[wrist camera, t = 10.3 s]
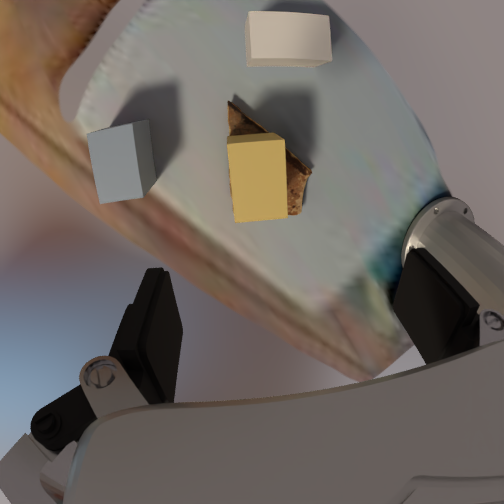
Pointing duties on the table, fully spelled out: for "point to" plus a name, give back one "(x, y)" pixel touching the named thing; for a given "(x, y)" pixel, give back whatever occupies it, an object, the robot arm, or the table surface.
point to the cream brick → (287, 39)
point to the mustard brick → (258, 176)
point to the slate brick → (122, 161)
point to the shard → (294, 166)
